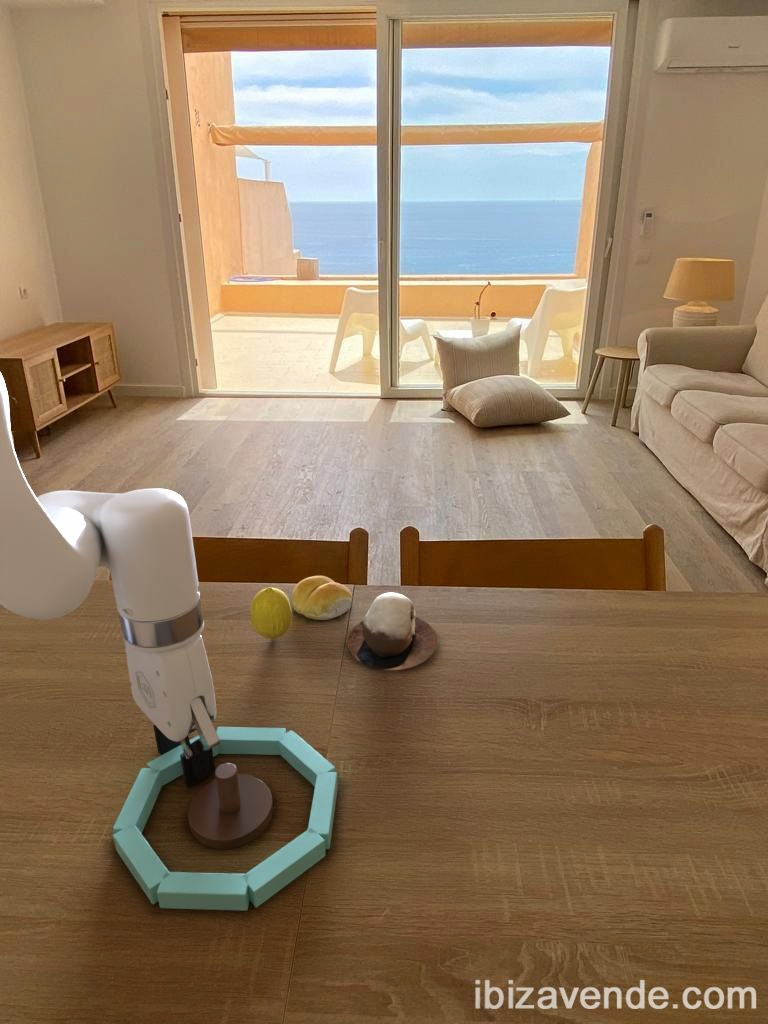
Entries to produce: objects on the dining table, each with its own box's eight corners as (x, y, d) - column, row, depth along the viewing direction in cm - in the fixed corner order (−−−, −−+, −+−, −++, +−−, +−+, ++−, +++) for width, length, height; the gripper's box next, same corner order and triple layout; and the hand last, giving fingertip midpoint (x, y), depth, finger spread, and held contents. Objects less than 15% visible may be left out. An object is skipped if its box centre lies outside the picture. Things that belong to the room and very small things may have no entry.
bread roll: (322, 585, 108) (321, 562, 106) (361, 606, 102) (360, 583, 100) (279, 605, 103) (277, 581, 101) (317, 629, 97) (316, 604, 95)
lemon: (245, 646, 93) (239, 594, 90) (265, 624, 98) (260, 574, 95) (282, 654, 91) (277, 601, 88) (300, 631, 96) (297, 581, 93)
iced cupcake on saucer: (359, 604, 100) (405, 564, 95) (409, 655, 101) (457, 618, 96) (325, 648, 90) (375, 606, 85) (381, 704, 90) (434, 666, 85)
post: (216, 865, 62) (209, 819, 60) (174, 812, 68) (166, 769, 66) (289, 815, 67) (285, 771, 65) (244, 770, 73) (239, 729, 70)
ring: (188, 958, 55) (185, 942, 54) (89, 810, 68) (85, 795, 67) (376, 817, 67) (376, 802, 66) (261, 716, 80) (259, 702, 80)
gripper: (87, 597, 70) (118, 738, 77) (167, 674, 58) (194, 831, 65) (157, 572, 74) (180, 707, 82) (244, 638, 63) (261, 789, 70)
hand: (186, 761), depth 73 cm, fingers open, 5 cm apart
